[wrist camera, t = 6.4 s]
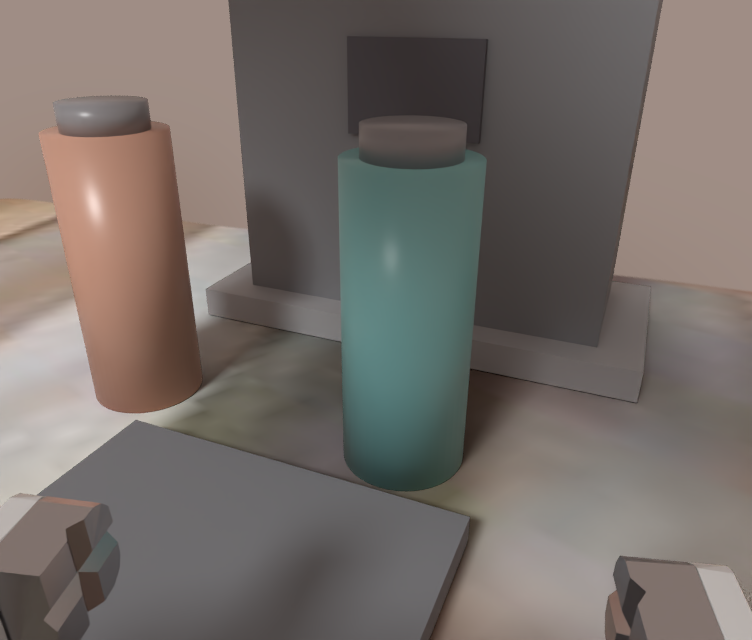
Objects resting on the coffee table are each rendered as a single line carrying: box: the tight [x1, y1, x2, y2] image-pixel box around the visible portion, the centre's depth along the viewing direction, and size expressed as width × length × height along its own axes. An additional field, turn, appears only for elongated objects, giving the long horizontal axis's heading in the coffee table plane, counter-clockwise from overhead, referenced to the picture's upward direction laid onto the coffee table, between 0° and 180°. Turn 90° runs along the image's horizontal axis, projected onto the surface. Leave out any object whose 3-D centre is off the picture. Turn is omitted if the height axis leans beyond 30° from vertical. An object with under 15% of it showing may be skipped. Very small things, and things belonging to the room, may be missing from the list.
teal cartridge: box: [338, 115, 487, 491], centre depth 22 cm, size 4×4×12 cm
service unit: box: [206, 0, 663, 403], centre depth 31 cm, size 22×10×18 cm, turn 67°
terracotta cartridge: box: [39, 96, 203, 413], centre depth 26 cm, size 4×4×12 cm
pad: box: [37, 420, 470, 640], centre depth 17 cm, size 13×13×1 cm
